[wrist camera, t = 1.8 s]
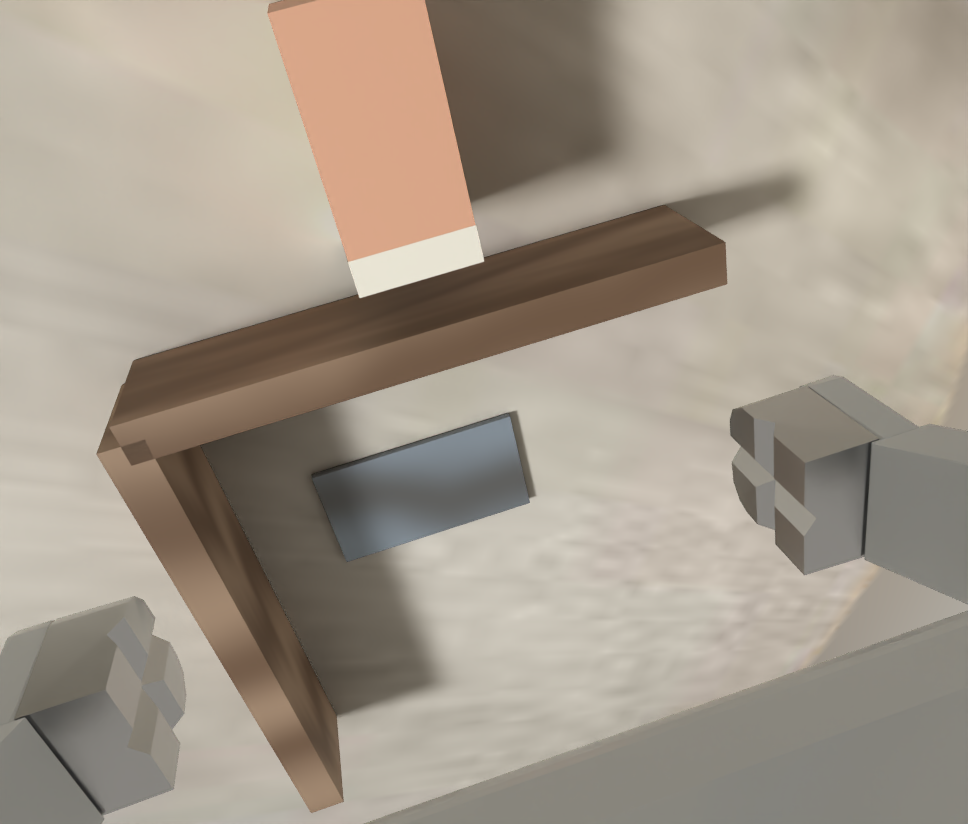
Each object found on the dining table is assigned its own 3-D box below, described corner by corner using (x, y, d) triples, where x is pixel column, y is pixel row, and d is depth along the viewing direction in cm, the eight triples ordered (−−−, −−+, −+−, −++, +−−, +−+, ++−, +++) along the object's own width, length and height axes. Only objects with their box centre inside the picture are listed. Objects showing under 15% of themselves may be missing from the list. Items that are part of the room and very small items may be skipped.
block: (268, 4, 25) (267, 13, 20) (390, -27, 25) (419, -26, 20) (344, 240, 29) (359, 298, 24) (448, 210, 29) (484, 261, 24)
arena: (112, 366, 29) (84, 434, 25) (664, 204, 31) (725, 242, 27) (307, 726, 41) (311, 813, 37) (698, 592, 43) (744, 660, 39)
